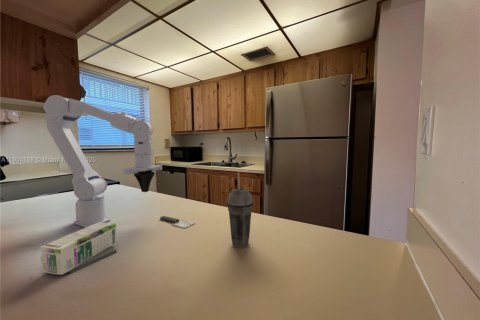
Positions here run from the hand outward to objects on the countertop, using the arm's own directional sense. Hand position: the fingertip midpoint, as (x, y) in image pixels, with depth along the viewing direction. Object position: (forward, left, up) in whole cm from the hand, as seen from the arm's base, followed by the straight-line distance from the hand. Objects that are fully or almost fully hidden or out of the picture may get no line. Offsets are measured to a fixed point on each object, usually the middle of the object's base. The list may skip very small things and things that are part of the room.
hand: (145, 191), depth 75 cm
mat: (+7, -24, -10) cm, 27 cm away
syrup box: (+8, -17, -7) cm, 20 cm away
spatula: (+12, +3, -10) cm, 16 cm away
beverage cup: (+40, 0, -11) cm, 41 cm away
